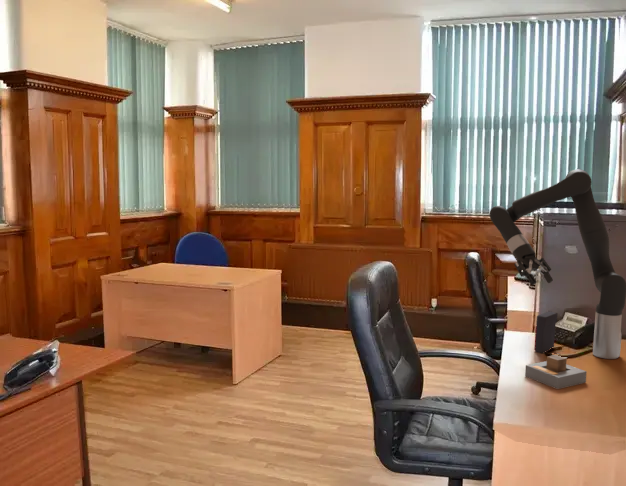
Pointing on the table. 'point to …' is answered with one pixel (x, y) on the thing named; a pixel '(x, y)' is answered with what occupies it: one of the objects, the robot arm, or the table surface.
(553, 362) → the walnut peg
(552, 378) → the socket block
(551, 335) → the black slab
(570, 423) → the table surface
